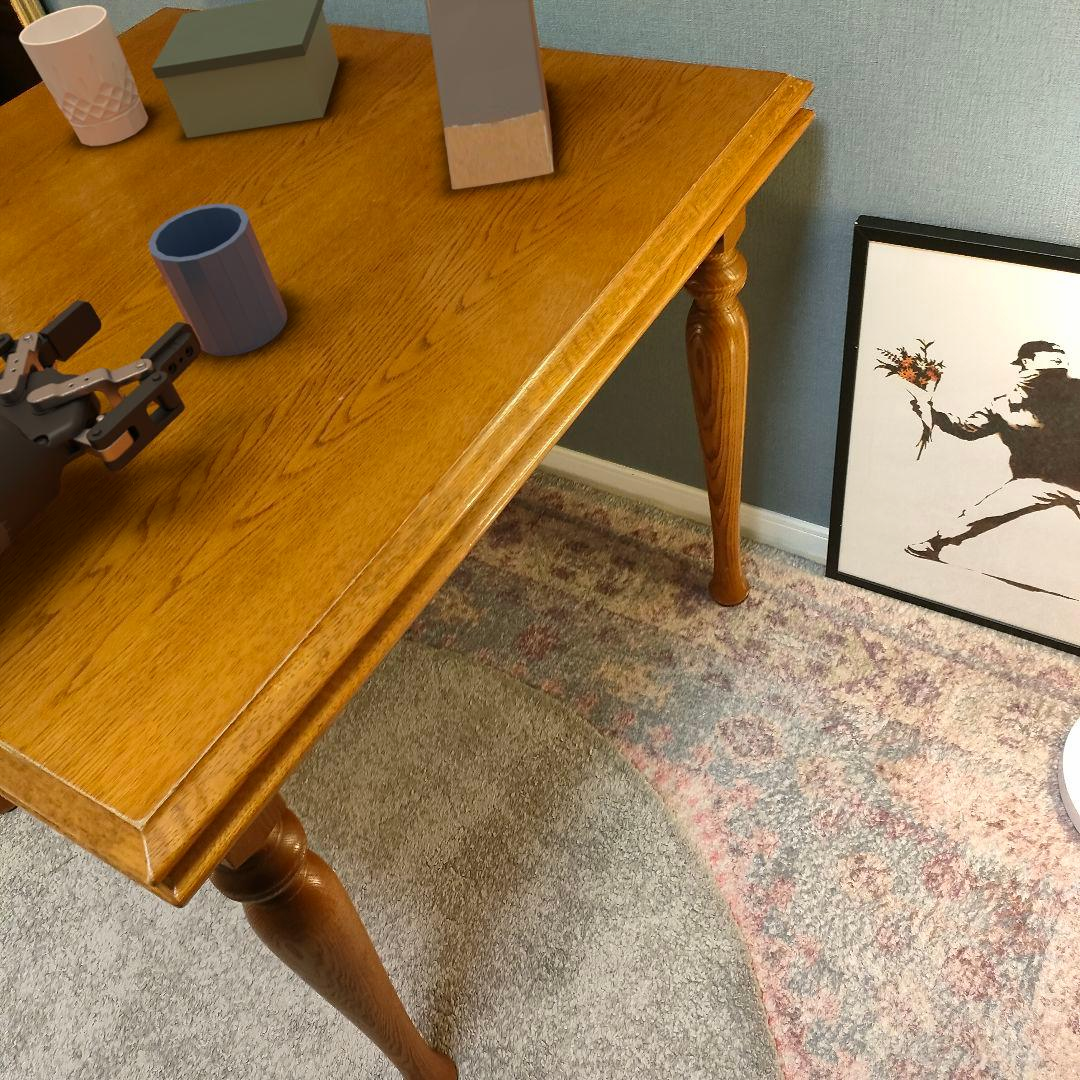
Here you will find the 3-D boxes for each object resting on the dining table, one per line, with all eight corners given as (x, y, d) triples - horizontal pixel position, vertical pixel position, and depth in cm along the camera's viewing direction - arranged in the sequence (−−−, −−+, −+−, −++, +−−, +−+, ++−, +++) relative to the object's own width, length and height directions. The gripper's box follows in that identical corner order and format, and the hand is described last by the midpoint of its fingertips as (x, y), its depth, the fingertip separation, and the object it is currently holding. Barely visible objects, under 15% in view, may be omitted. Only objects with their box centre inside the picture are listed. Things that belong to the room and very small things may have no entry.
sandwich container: (449, 197, 79) (401, -4, 67) (451, 107, 89) (409, -81, 78) (557, 179, 78) (526, -27, 67) (546, 90, 88) (518, -102, 77)
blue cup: (189, 365, 69) (137, 266, 63) (209, 308, 74) (162, 210, 68) (280, 354, 68) (236, 253, 62) (295, 296, 73) (256, 197, 67)
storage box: (184, 144, 92) (151, 67, 87) (211, 86, 100) (182, 13, 95) (327, 122, 91) (301, 43, 85) (343, 65, 98) (321, -10, 93)
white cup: (94, 161, 93) (38, 51, 85) (62, 138, 97) (6, 32, 90) (169, 124, 95) (120, 15, 88) (134, 103, 100) (85, -2, 92)
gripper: (-4, 485, 48) (202, 289, 57) (-183, 426, 54) (30, 255, 63) (73, 581, 54) (250, 388, 63) (-96, 519, 60) (88, 350, 68)
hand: (140, 322), depth 63 cm, fingers open, 8 cm apart
